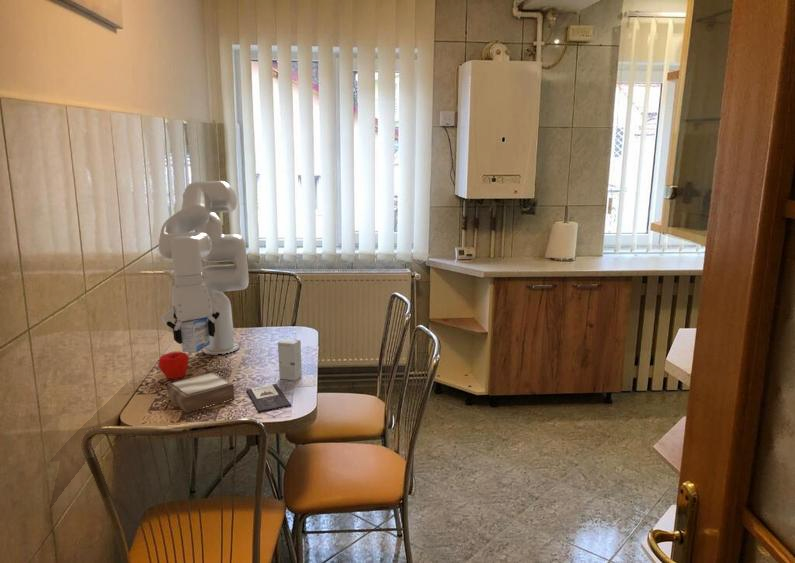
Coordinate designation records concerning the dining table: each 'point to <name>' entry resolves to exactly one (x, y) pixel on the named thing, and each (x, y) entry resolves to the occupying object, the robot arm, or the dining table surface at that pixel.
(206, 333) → the medicine box
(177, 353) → the apple
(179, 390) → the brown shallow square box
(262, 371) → the dining table surface
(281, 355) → the skincare box
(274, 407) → the chocolate bar
